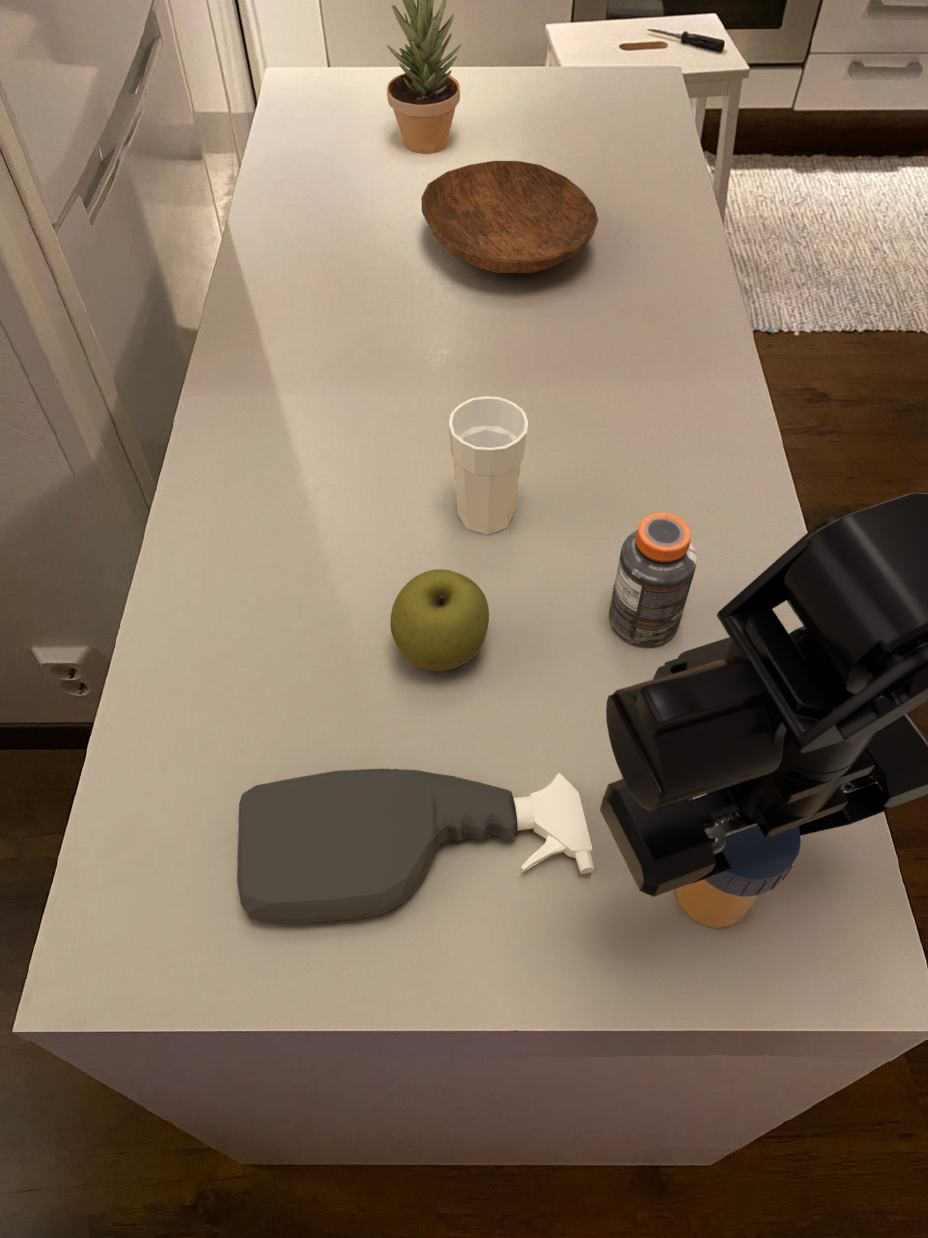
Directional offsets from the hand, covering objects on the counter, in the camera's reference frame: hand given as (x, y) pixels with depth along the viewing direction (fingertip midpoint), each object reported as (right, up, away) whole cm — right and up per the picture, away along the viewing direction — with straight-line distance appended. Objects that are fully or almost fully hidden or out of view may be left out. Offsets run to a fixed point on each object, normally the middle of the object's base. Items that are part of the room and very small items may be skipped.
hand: (736, 848), depth 60 cm
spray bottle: (-21, -2, +8) cm, 22 cm away
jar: (0, -4, +6) cm, 7 cm away
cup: (-15, +24, +28) cm, 40 cm away
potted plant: (-22, +79, +69) cm, 107 cm away
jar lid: (0, 0, 0) cm, 0 cm away
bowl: (-12, +59, +54) cm, 81 cm away
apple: (-19, +12, +18) cm, 29 cm away
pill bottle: (-2, +14, +20) cm, 25 cm away
